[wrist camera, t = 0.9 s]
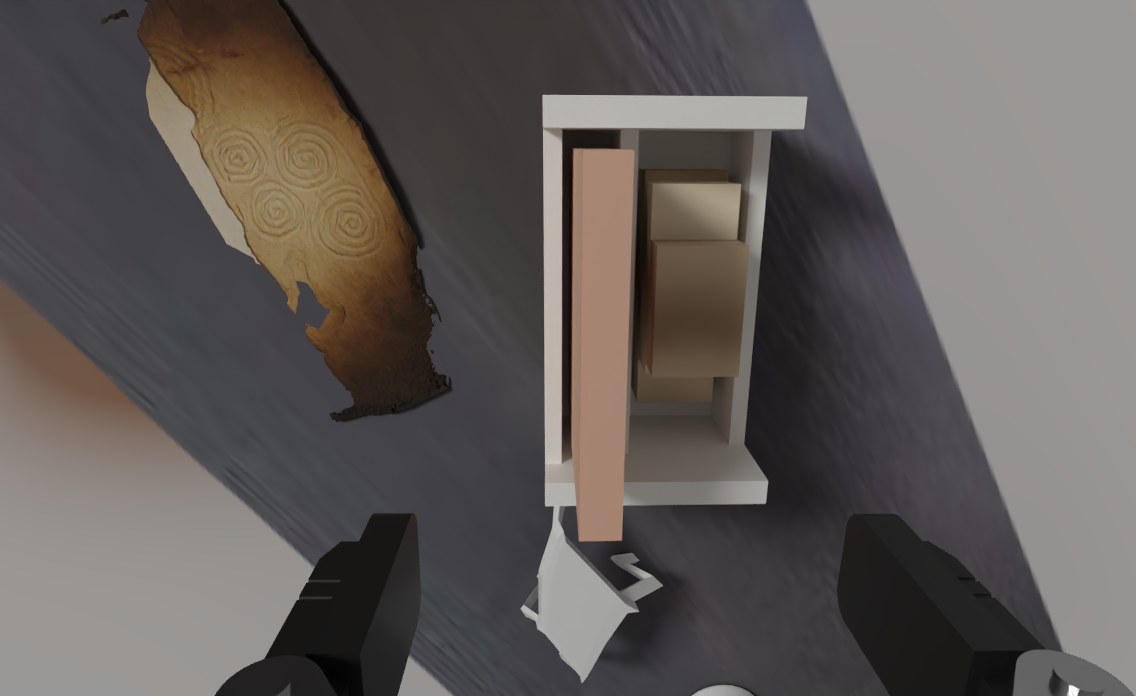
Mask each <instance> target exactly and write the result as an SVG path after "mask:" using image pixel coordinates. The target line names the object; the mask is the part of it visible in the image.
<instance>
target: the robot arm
mask: <svg viewBox="0 0 1136 696" xmlns="http://www.w3.org/2000/svg"><path fill="white" fill-rule="evenodd" d="M837 596H838V604H839V609H840V612H841V615H842V618H843V620H844V622H845V624H846V625H847V627H848V629H849V630H850V632H851V633H852V635H853V637H854V638H855V640H856V641H857V643H858V645H859V646H860V648H861V650H862V651H863V653H864V654H865V656H866V658H867V659H868V661H869V662H870V664H871V666H872V667H873V669H874V670H875V672H876V674H877V675H878V677H879V679H880V680H881V682H882V683H883V685H884V687H885V688H886V690H887V691H888V693H889V695H890V696H1134V695H1133V694H1132V692H1131V691H1130V690H1129V689H1128V688H1127V687H1126V686H1125V685H1124V684H1123V683H1122V682H1121V681H1119V680H1118V679H1117V678H1116V677H1114V676H1113V675H1111V674H1110V673H1108V672H1107V671H1105V670H1103V669H1102V668H1100V667H1098V666H1096V665H1094V664H1092V663H1090V662H1088V661H1086V660H1084V659H1081V658H1078V657H1076V656H1073V655H1070V654H1067V653H1063V652H1058V651H1052V650H1046V649H1045V648H1044V647H1043V646H1042V645H1041V644H1040V643H1039V642H1038V641H1037V640H1036V639H1035V638H1034V637H1033V636H1032V635H1031V634H1030V633H1029V632H1028V631H1027V630H1026V629H1025V628H1024V627H1023V626H1022V625H1021V624H1020V622H1019V621H1018V620H1017V619H1016V618H1015V617H1014V616H1013V615H1012V614H1011V613H1010V612H1009V611H1008V610H1007V609H1006V608H1005V607H1004V606H1003V605H1002V604H1001V603H1000V602H999V601H998V600H997V599H996V598H992V597H991V593H990V592H989V591H988V590H987V589H986V588H985V587H984V586H983V585H982V584H981V583H980V582H979V581H976V580H975V577H974V576H973V575H972V574H971V573H970V572H969V571H968V570H967V569H966V568H965V567H964V566H963V565H962V564H961V563H960V562H959V561H958V560H957V559H956V558H955V557H953V556H952V555H950V554H948V553H947V552H945V551H943V550H942V549H940V548H938V547H937V546H935V545H934V544H932V543H930V542H929V541H922V540H921V539H920V538H919V537H918V536H917V535H916V534H915V533H914V532H913V530H912V529H911V528H910V527H909V526H908V525H907V524H906V523H905V522H904V521H903V520H902V519H901V518H900V517H899V516H898V515H896V514H853V515H852V516H851V517H850V518H849V520H848V523H847V527H846V534H845V540H844V547H843V553H842V560H841V566H840V573H839V579H838V586H837ZM420 599H421V583H420V565H419V548H418V530H417V520H416V516H415V514H413V513H406V514H373V515H372V516H371V518H370V520H369V522H368V524H367V526H366V528H365V530H364V532H363V534H362V536H361V538H360V541H359V542H340V543H339V544H337V545H336V546H335V547H334V548H333V549H331V550H330V551H329V552H328V553H326V554H325V555H324V556H323V557H321V558H320V559H319V561H318V563H317V565H316V567H315V568H314V570H313V572H312V574H311V576H310V577H309V582H308V583H306V585H305V586H304V588H303V590H302V592H301V594H300V596H299V600H297V601H296V603H295V605H294V606H293V608H292V610H291V612H290V614H289V615H288V617H287V619H286V621H285V623H284V624H283V626H282V628H281V630H280V632H279V633H278V635H277V637H276V639H275V641H274V643H273V645H272V646H271V648H270V650H269V652H268V653H267V655H266V657H265V659H263V660H261V661H258V662H255V663H253V664H251V665H249V666H247V667H245V668H243V669H242V670H240V671H238V672H237V673H236V674H234V675H233V676H232V677H230V678H229V679H228V680H227V681H226V682H225V683H224V684H223V685H222V686H221V688H220V689H219V690H218V691H217V693H216V695H215V696H397V695H398V692H399V688H400V684H401V681H402V677H403V674H404V670H405V666H406V663H407V658H408V655H409V652H410V648H411V645H412V641H413V637H414V634H415V630H416V626H417V622H418V617H419V610H420Z"/></svg>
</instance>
